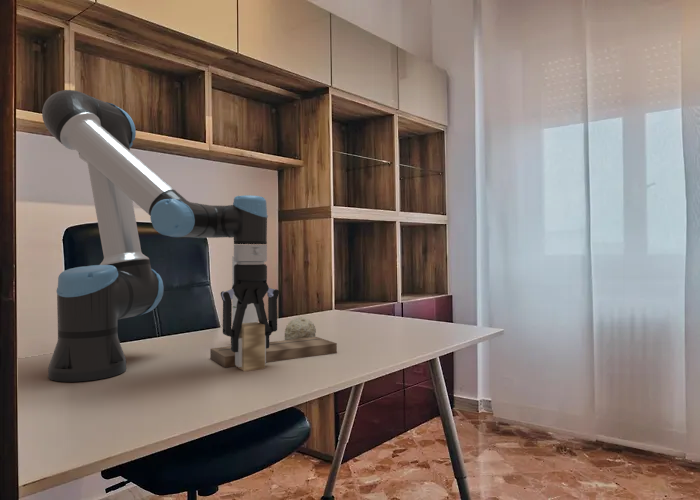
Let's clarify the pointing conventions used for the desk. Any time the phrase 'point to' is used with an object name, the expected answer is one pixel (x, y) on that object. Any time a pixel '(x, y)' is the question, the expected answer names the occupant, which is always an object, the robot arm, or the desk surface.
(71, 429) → the desk surface
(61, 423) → the desk surface
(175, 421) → the desk surface
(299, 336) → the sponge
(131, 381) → the desk surface
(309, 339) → the board
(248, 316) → the cylindrical container
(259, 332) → the wooden lever on block
